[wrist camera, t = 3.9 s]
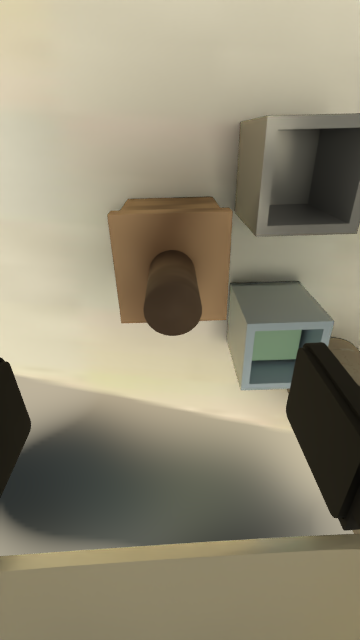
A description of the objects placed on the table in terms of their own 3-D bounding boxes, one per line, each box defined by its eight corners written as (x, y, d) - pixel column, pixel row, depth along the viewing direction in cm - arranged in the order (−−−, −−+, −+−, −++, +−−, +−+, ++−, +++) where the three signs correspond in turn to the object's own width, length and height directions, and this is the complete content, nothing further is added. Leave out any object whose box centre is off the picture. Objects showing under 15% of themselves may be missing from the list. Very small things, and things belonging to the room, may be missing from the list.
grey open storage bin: (327, 119, 22) (387, 112, 16) (311, 210, 25) (356, 233, 19) (240, 121, 22) (267, 115, 16) (234, 212, 25) (255, 236, 19)
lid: (229, 207, 19) (252, 235, 13) (223, 311, 22) (240, 366, 17) (110, 210, 19) (86, 240, 13) (123, 314, 22) (109, 371, 17)
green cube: (287, 294, 28) (304, 317, 24) (281, 333, 30) (296, 359, 26) (242, 296, 28) (252, 318, 24) (239, 334, 30) (248, 360, 26)
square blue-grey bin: (298, 281, 28) (334, 321, 22) (288, 338, 31) (317, 387, 25) (230, 283, 28) (247, 324, 22) (226, 340, 31) (240, 390, 25)
